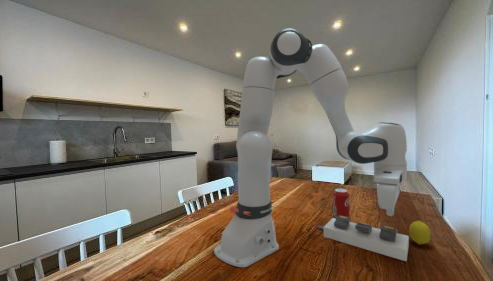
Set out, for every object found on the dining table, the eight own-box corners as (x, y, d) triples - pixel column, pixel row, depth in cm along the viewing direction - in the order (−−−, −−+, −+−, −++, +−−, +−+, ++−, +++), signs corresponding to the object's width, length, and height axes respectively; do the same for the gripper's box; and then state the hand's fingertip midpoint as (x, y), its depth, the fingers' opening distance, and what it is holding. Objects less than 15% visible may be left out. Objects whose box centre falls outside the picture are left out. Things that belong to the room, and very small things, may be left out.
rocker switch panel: (406, 261, 62) (406, 249, 62) (312, 233, 80) (312, 224, 80) (408, 246, 69) (408, 235, 69) (322, 223, 87) (322, 215, 87)
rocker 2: (368, 233, 69) (368, 227, 70) (355, 229, 72) (355, 224, 72) (372, 229, 74) (372, 224, 74) (359, 226, 77) (359, 221, 77)
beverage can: (351, 220, 90) (350, 192, 89) (335, 219, 91) (334, 192, 90) (347, 214, 96) (346, 188, 95) (332, 214, 97) (331, 188, 96)
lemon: (404, 240, 73) (405, 217, 73) (421, 240, 73) (421, 217, 73) (417, 249, 68) (417, 224, 67) (435, 249, 67) (435, 224, 67)
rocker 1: (346, 230, 74) (345, 225, 74) (334, 226, 77) (333, 222, 76) (350, 221, 79) (350, 216, 78) (339, 218, 81) (338, 214, 81)
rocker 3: (394, 242, 65) (394, 237, 65) (379, 238, 68) (379, 233, 67) (396, 232, 70) (396, 227, 69) (382, 228, 72) (382, 223, 72)
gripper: (383, 166, 79) (383, 203, 80) (372, 177, 63) (373, 223, 64) (404, 167, 75) (404, 206, 76) (398, 180, 59) (399, 228, 60)
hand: (390, 214), depth 70 cm, fingers closed
